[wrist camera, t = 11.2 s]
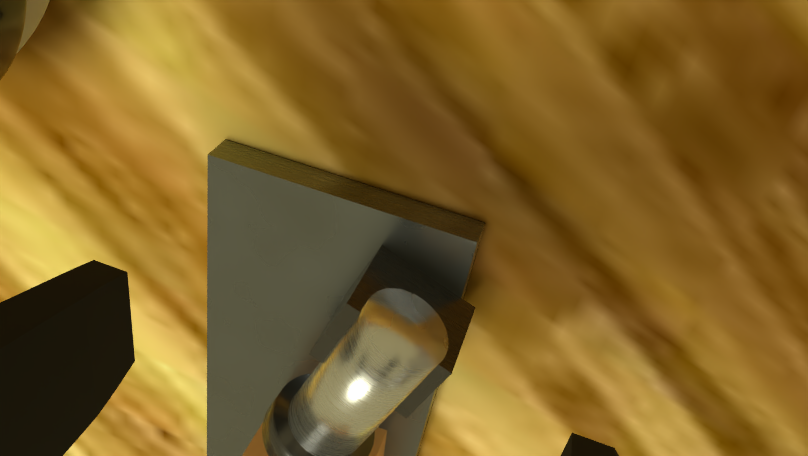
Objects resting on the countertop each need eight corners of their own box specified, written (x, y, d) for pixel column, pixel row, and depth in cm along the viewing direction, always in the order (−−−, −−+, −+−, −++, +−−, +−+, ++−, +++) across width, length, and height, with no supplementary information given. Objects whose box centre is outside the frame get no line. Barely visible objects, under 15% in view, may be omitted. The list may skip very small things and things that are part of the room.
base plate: (485, 222, 20) (477, 242, 19) (371, 614, 33) (364, 635, 33) (225, 139, 21) (207, 154, 20) (217, 549, 35) (206, 568, 34)
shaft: (386, 238, 20) (330, 332, 17) (480, 301, 20) (443, 407, 17) (302, 352, 23) (242, 449, 20) (383, 405, 24) (336, 510, 20)
